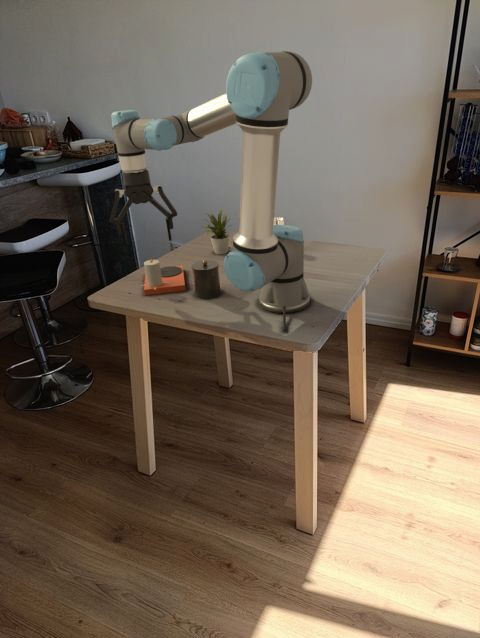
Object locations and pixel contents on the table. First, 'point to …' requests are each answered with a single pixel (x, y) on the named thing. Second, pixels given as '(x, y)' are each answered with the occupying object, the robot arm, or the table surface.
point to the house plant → (219, 233)
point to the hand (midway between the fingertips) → (148, 242)
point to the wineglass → (279, 221)
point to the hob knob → (153, 273)
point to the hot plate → (167, 284)
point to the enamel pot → (206, 279)
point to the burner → (170, 271)
